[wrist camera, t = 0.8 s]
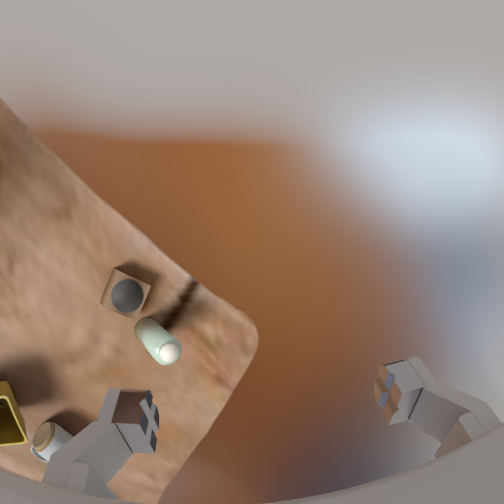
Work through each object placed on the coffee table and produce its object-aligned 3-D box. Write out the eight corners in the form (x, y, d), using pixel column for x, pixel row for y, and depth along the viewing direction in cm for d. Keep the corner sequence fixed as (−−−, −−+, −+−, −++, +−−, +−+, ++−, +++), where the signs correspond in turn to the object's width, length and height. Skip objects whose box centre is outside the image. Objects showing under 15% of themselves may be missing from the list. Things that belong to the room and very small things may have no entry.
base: (100, 301, 45) (103, 307, 42) (114, 267, 46) (118, 270, 43) (131, 315, 48) (137, 320, 45) (145, 282, 49) (151, 286, 47)
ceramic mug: (51, 411, 39) (54, 437, 33) (84, 436, 43) (92, 462, 36) (20, 441, 35) (21, 468, 29) (53, 463, 38) (59, 490, 32)
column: (130, 337, 48) (151, 362, 39) (140, 314, 49) (162, 335, 40) (152, 344, 51) (177, 370, 42) (162, 322, 51) (188, 343, 43)
